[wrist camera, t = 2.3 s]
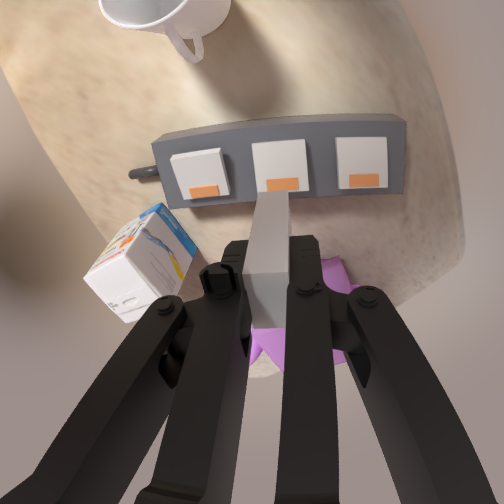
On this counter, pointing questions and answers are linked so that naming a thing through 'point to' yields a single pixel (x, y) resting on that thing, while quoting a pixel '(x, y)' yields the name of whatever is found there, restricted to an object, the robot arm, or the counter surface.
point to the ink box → (142, 264)
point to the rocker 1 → (201, 173)
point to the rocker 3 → (362, 162)
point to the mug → (170, 19)
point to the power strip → (276, 129)
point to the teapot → (275, 337)
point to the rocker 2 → (280, 165)
